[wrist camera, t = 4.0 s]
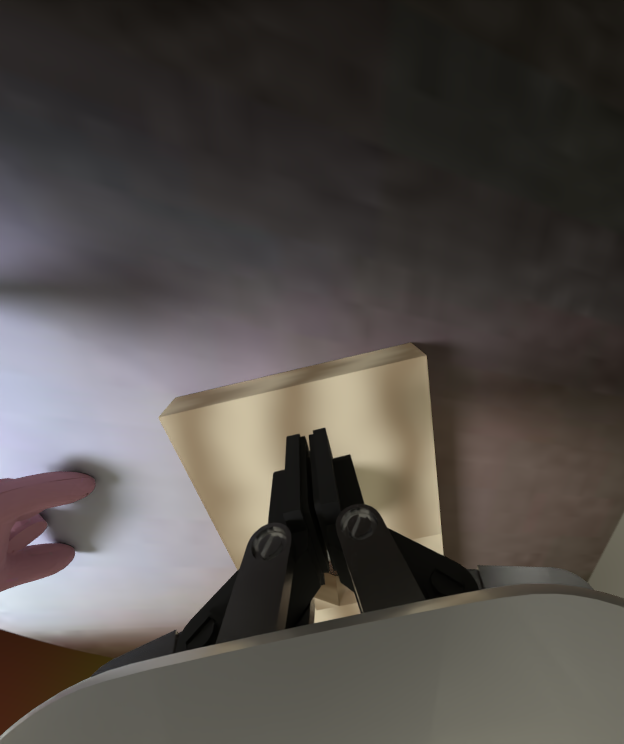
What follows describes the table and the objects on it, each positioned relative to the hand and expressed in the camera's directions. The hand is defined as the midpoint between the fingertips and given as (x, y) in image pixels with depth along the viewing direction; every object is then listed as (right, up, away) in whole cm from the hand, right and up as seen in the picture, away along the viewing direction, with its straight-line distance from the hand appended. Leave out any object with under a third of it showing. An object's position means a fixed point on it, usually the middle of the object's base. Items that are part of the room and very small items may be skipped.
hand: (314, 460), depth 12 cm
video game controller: (-21, -7, +11) cm, 24 cm away
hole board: (+1, -7, +11) cm, 13 cm away
